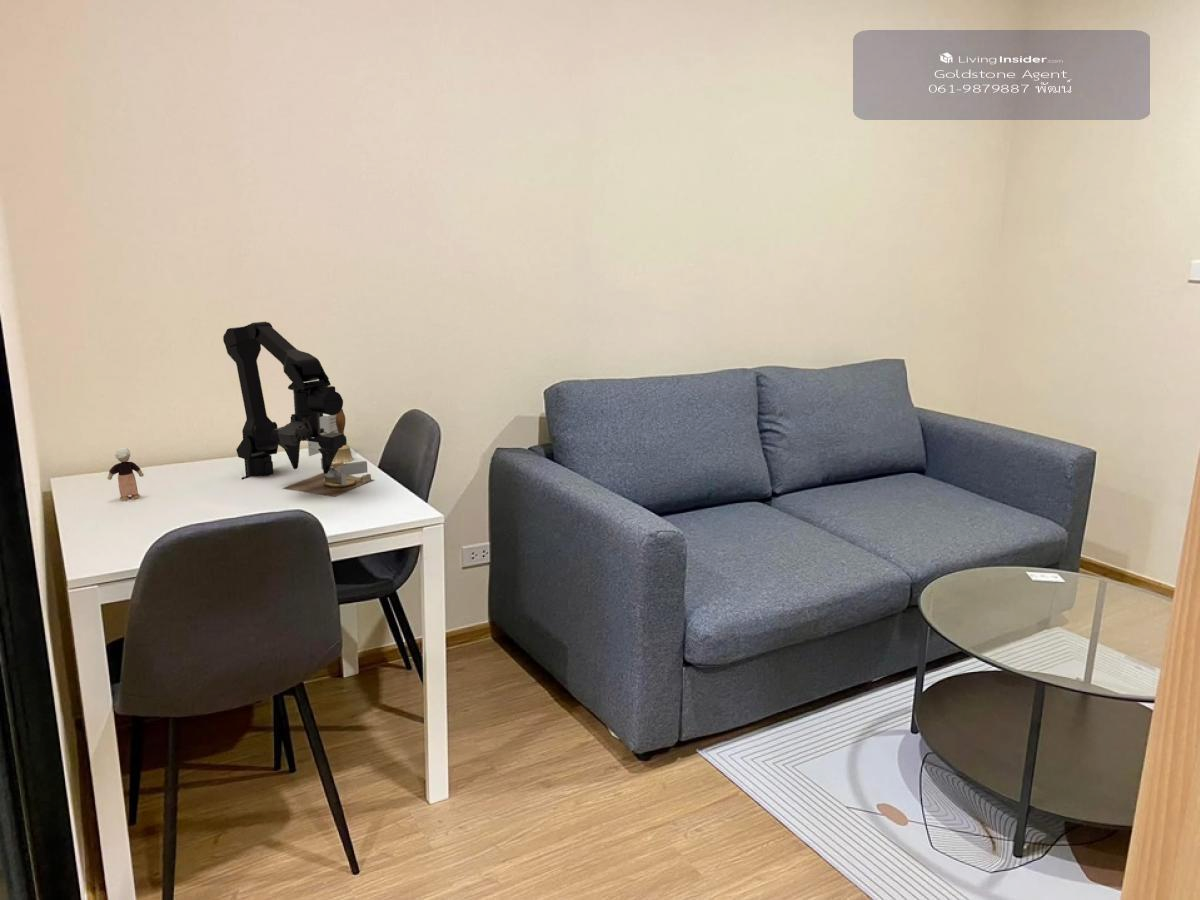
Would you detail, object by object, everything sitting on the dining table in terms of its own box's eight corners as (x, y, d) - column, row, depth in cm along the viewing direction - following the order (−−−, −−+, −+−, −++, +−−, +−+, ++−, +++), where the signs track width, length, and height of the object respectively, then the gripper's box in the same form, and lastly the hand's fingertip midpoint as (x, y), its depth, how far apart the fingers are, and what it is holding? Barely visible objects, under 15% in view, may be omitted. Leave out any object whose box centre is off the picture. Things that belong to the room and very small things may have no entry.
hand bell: (333, 460, 260) (330, 405, 256) (362, 462, 260) (359, 406, 256) (322, 468, 252) (318, 411, 248) (351, 470, 252) (349, 412, 248)
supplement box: (307, 456, 264) (305, 413, 260) (322, 450, 271) (319, 408, 267) (330, 459, 262) (328, 415, 259) (344, 452, 269) (342, 410, 266)
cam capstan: (334, 493, 225) (333, 473, 223) (314, 476, 238) (313, 457, 237) (378, 487, 230) (377, 467, 229) (356, 471, 244) (355, 452, 243)
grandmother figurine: (141, 493, 228) (136, 443, 224) (147, 497, 225) (141, 446, 222) (108, 499, 222) (101, 448, 219) (113, 503, 220) (107, 452, 217)
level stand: (282, 494, 230) (281, 482, 229) (324, 477, 244) (323, 466, 243) (335, 502, 224) (334, 490, 223) (375, 485, 238) (374, 474, 237)
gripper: (252, 411, 221) (257, 474, 225) (316, 419, 214) (319, 484, 218) (284, 403, 231) (288, 463, 234) (346, 410, 224) (349, 472, 228)
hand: (310, 471), depth 228 cm, fingers open, 9 cm apart
